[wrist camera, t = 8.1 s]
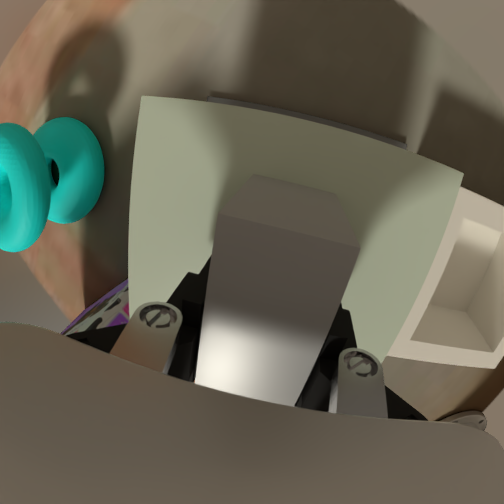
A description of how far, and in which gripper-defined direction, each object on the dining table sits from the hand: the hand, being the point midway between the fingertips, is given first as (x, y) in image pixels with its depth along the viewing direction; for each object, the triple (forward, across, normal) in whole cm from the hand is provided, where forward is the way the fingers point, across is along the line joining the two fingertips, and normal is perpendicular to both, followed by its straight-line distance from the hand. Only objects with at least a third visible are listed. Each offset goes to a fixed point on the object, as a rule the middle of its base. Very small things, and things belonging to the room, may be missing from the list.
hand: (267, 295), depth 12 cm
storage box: (+13, -15, 0) cm, 20 cm away
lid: (+3, 0, 0) cm, 3 cm away
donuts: (+13, +20, 0) cm, 24 cm away
